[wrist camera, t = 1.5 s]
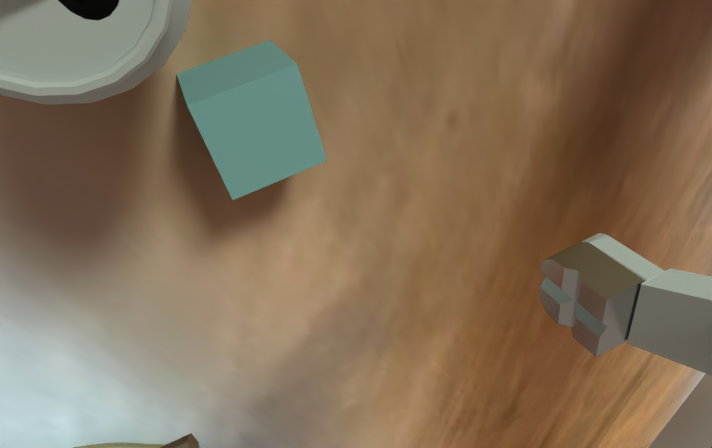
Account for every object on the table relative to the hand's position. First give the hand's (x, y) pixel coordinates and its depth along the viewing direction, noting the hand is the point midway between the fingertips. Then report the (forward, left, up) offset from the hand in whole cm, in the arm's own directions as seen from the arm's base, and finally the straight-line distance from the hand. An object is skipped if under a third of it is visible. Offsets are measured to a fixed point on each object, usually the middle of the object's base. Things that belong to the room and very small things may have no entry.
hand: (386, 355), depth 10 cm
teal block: (0, +1, -20) cm, 20 cm away
